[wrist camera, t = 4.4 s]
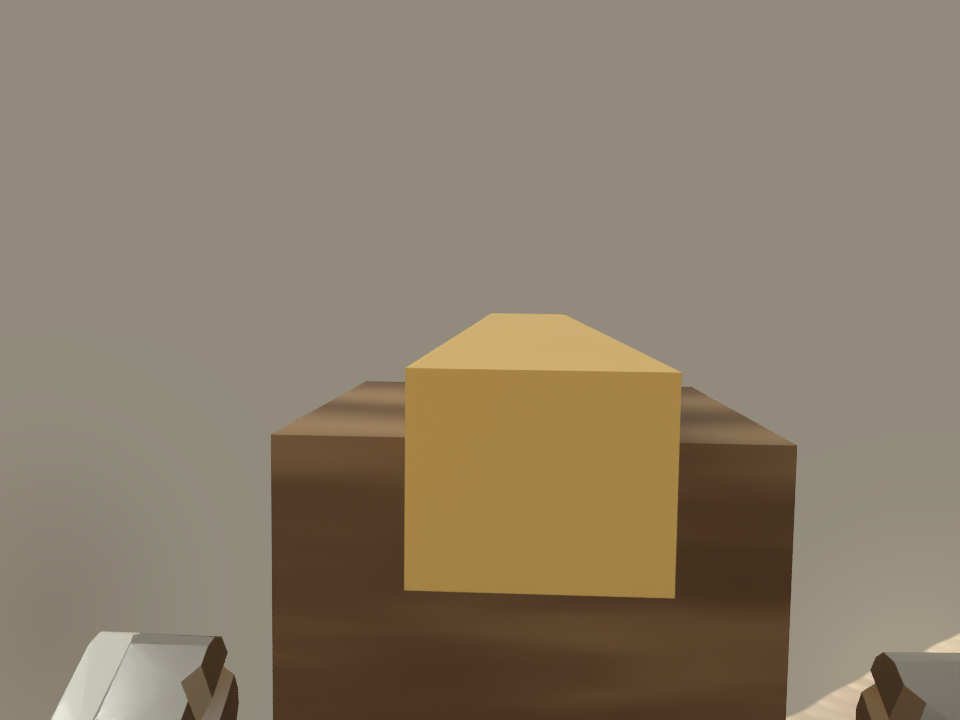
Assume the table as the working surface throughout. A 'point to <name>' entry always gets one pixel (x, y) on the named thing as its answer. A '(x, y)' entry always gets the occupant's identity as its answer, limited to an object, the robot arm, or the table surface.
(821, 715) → the table surface
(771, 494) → the walnut post
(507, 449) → the tan wooden beam
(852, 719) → the table surface
